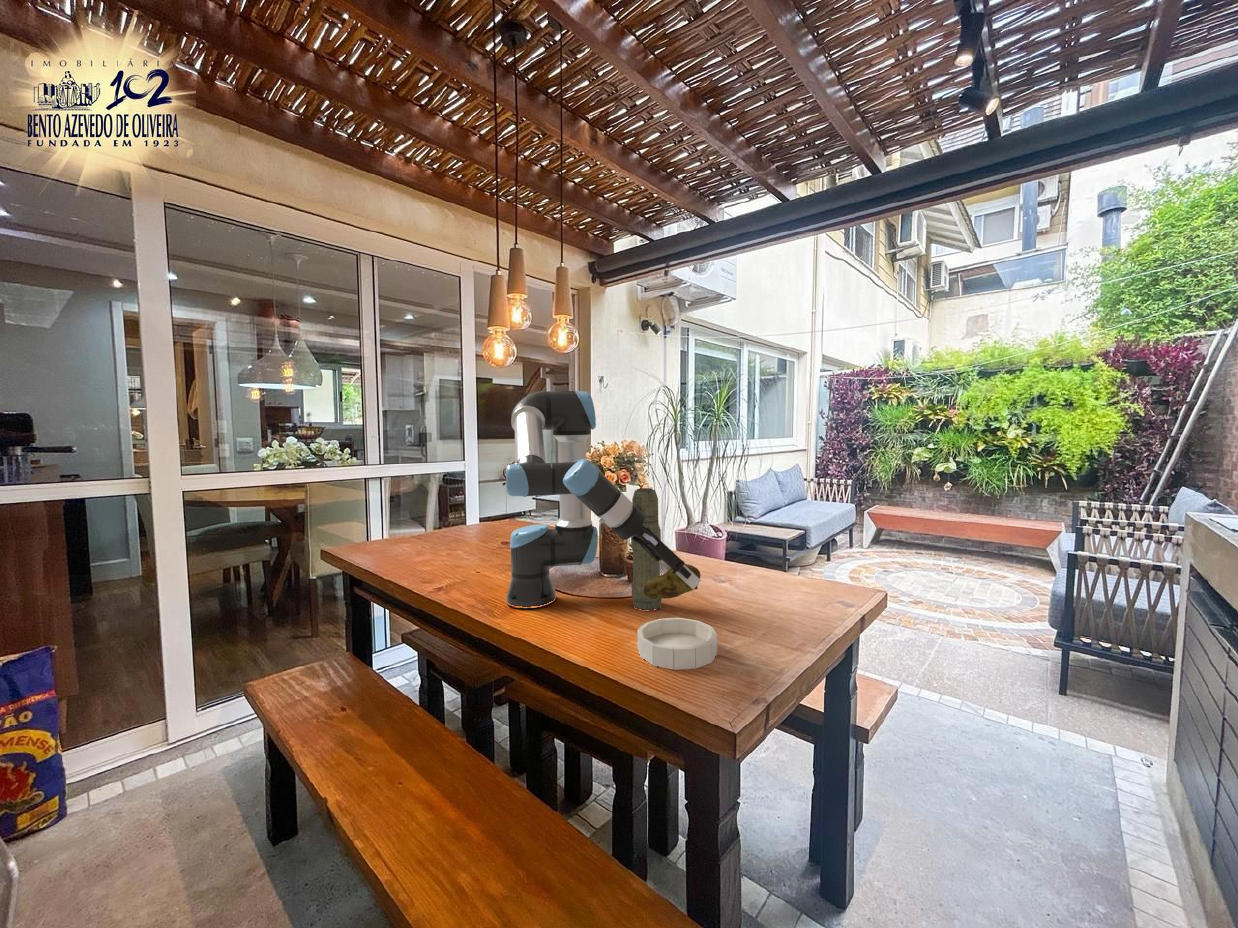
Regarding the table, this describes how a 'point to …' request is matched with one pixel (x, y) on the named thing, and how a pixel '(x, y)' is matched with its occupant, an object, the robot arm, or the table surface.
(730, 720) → the table surface
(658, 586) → the potato
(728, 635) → the table surface
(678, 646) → the bowl
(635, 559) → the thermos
